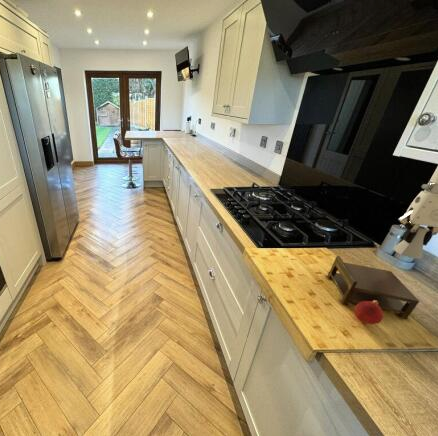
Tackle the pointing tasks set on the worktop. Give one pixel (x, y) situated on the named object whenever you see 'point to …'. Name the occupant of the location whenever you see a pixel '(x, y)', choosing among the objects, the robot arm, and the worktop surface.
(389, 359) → the worktop surface
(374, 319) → the onion
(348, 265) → the wooden step stool
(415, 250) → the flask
